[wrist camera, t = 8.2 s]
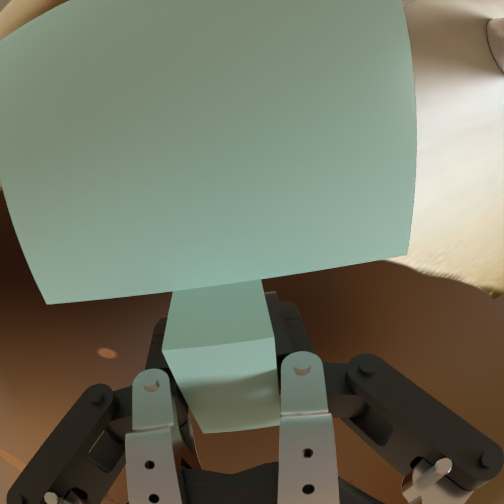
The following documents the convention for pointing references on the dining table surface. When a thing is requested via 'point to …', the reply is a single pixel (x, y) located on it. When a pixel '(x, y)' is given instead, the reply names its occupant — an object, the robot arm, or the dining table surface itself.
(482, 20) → the dining table surface
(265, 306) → the snap lid
